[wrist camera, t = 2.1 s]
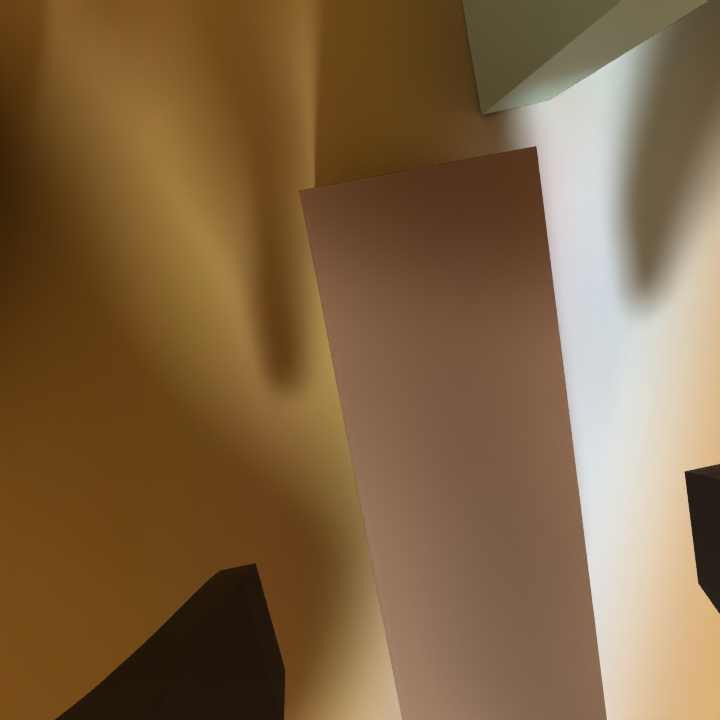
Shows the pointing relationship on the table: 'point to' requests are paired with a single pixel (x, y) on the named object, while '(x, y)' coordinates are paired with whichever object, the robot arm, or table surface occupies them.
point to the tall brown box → (461, 435)
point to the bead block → (555, 42)
